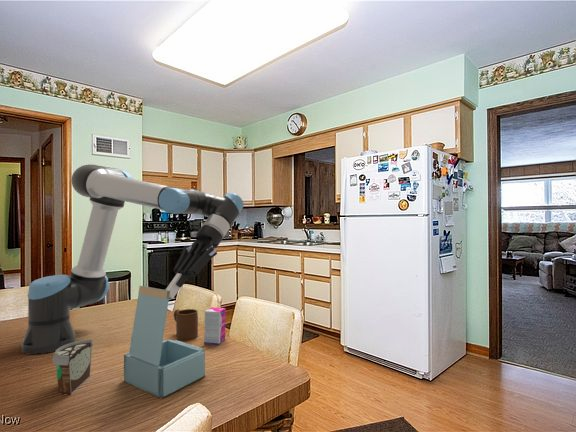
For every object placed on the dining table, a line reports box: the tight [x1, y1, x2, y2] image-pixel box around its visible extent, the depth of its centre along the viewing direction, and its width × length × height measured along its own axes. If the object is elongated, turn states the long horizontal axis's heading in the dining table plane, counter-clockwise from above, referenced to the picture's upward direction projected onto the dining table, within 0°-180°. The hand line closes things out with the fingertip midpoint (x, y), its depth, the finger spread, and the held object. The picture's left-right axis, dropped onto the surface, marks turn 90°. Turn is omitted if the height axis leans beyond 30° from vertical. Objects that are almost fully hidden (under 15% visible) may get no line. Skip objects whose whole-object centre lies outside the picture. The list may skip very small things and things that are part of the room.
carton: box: [123, 338, 206, 399], centre depth 91 cm, size 15×17×7 cm
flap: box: [128, 285, 170, 365], centre depth 87 cm, size 1×12×18 cm, turn 57°
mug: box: [173, 308, 199, 341], centre depth 124 cm, size 12×8×9 cm, turn 51°
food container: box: [52, 339, 94, 396], centre depth 87 cm, size 12×6×10 cm, turn 5°
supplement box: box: [203, 306, 227, 346], centre depth 118 cm, size 6×6×12 cm
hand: (168, 295), depth 91 cm, fingers closed
